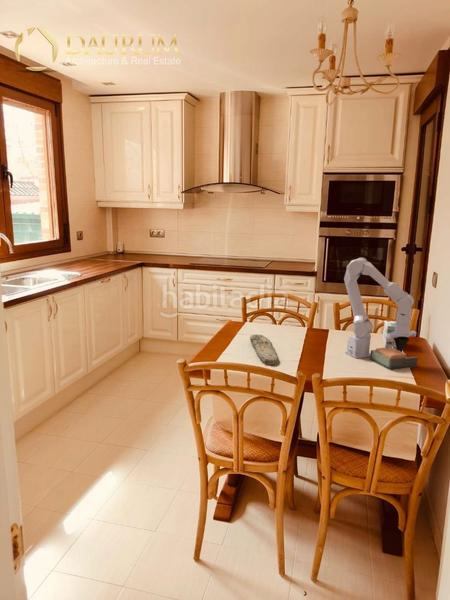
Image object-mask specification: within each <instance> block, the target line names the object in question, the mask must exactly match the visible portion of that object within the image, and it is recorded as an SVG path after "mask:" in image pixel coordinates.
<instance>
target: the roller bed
mask: <svg viewBox="0 0 450 600" xmlns="http://www.w3.org/2000/svg"><path fill="white" fill-rule="evenodd" d="M394 349H397V348H394ZM369 353H370V357H369V360H370V361H372V362H375V364H378V365H379V366H381V367H383V368H385V369H387V370H389V371H395V370H401V369H403V370H404V369H409V368H416V367H417V366H418V358H419V357H417V356H410V357H407V356H406V358H400V359H392V360H391V358H389V357H387V356H385V355H383V354H381V353H379V352H377V351H376V349H372V350H370V352H369Z"/></svg>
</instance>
